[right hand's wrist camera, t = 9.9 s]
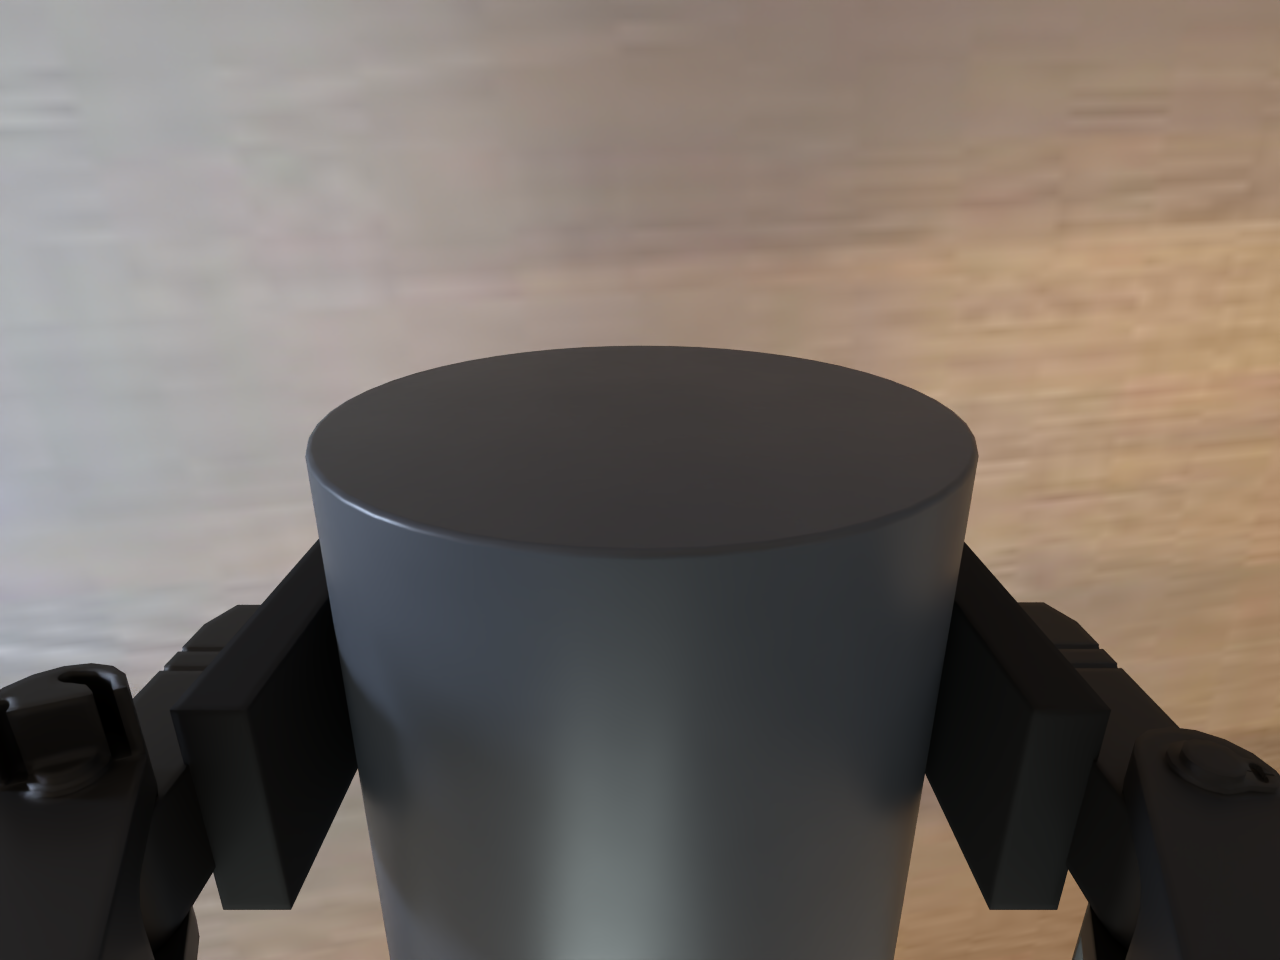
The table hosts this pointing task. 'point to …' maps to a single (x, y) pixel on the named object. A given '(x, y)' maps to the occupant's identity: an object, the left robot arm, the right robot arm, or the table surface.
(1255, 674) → the table surface
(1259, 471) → the table surface
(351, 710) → the rod
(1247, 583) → the table surface
